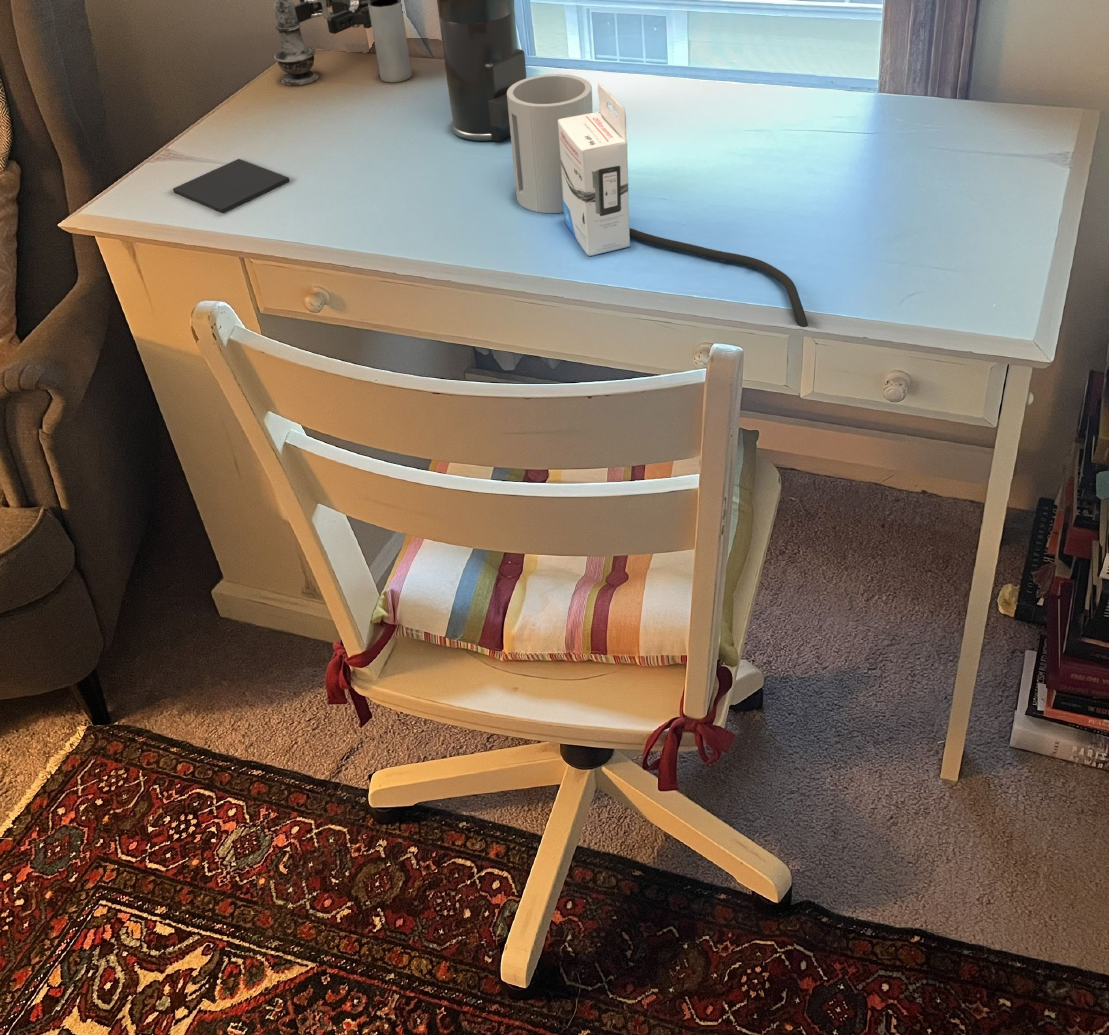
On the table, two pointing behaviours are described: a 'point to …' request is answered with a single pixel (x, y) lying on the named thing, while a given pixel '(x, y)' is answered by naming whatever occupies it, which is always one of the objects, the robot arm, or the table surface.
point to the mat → (231, 185)
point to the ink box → (596, 176)
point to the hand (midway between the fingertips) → (309, 21)
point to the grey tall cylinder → (390, 40)
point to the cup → (542, 135)
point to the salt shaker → (293, 47)
